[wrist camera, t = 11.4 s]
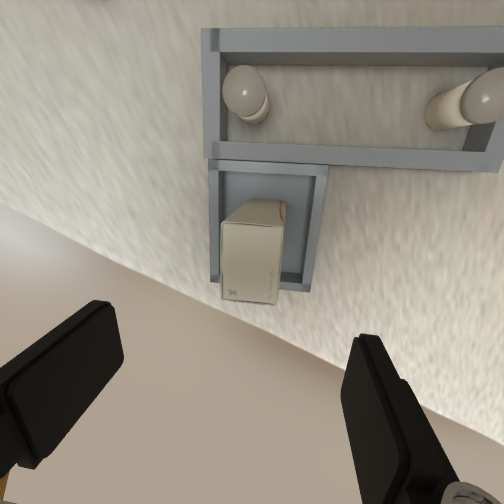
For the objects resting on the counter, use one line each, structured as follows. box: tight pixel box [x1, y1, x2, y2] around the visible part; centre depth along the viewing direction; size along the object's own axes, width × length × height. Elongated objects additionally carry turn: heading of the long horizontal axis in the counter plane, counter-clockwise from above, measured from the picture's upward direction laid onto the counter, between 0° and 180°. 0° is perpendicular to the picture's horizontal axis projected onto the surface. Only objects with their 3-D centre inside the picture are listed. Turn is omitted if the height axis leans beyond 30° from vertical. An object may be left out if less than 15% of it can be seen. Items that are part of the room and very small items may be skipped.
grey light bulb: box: [222, 65, 269, 124], centre depth 22 cm, size 3×3×6 cm
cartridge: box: [425, 67, 504, 130], centre depth 20 cm, size 3×3×6 cm
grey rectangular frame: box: [201, 26, 504, 173], centre depth 22 cm, size 27×10×3 cm, turn 87°
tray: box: [208, 159, 329, 292], centre depth 27 cm, size 12×14×3 cm
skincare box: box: [220, 199, 286, 306], centre depth 23 cm, size 6×4×12 cm
